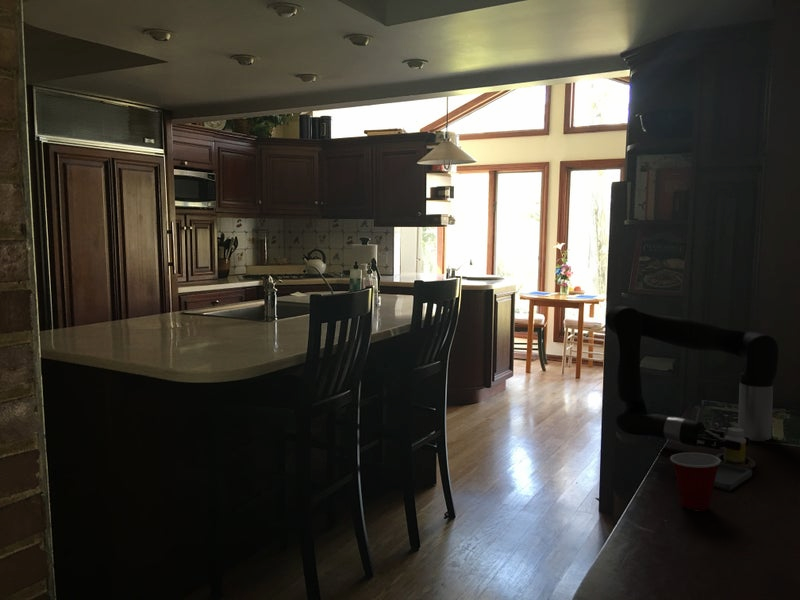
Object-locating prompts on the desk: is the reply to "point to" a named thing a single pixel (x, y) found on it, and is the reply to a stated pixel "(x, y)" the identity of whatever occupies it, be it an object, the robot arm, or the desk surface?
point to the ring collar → (748, 466)
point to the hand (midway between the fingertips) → (744, 444)
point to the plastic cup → (695, 478)
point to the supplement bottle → (735, 455)
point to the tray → (730, 476)
